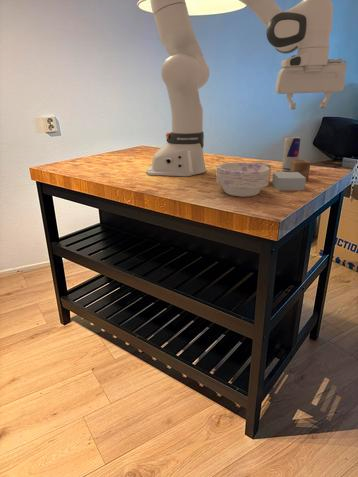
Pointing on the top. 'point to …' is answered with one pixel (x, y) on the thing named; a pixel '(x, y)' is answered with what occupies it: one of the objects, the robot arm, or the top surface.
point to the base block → (288, 181)
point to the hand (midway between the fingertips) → (307, 108)
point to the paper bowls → (242, 178)
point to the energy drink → (290, 151)
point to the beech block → (265, 165)
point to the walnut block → (301, 167)
